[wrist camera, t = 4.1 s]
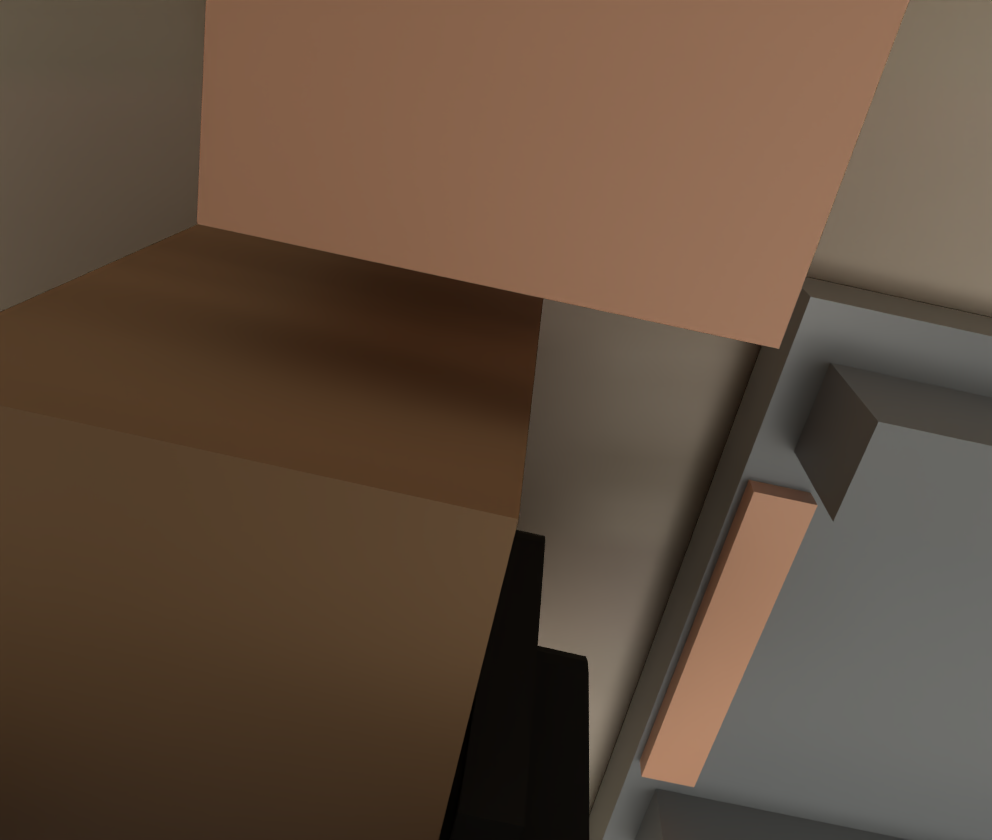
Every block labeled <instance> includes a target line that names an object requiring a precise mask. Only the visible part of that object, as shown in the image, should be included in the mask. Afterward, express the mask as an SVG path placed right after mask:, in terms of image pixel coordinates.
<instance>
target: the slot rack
mask: <svg viewBox="0 0 992 840" xmlns="http://www.w3.org/2000/svg"><path fill="white" fill-rule="evenodd" d="M589 840H992V318H991V317H986V316H982V315H977V314H973V313H968V312H963V311H959V310H954V309H950V308H945V307H941V306H936V305H931V304H927V303H922V302H918V301H913V300H909V299H904V298H900V297H895V296H890V295H886V294H881V293H877V292H872V291H868V290H863V289H859V288H854V287H849V286H845V285H840V284H836V283H831V282H827V281H822V280H818V279H813V278H808V277H806V278H805V281H804V283H803V286H802V289H801V291H800V294H799V297H798V299H797V302H796V305H795V307H794V310H793V313H792V315H791V318H790V321H789V323H788V326H787V329H786V331H785V334H784V337H783V339H782V342H781V345H780V347H779V349H777V348H772V347H768V346H763V345H762V347H761V349H760V352H759V355H758V358H757V360H756V363H755V366H754V368H753V371H752V374H751V377H750V379H749V382H748V385H747V388H746V390H745V393H744V396H743V398H742V401H741V404H740V407H739V409H738V412H737V415H736V418H735V420H734V423H733V426H732V428H731V431H730V434H729V437H728V439H727V442H726V445H725V448H724V450H723V453H722V456H721V458H720V461H719V464H718V467H717V469H716V472H715V475H714V478H713V480H712V483H711V486H710V488H709V491H708V494H707V497H706V499H705V502H704V505H703V508H702V510H701V513H700V516H699V518H698V521H697V524H696V527H695V529H694V532H693V535H692V538H691V540H690V543H689V546H688V548H687V551H686V554H685V557H684V559H683V562H682V565H681V567H680V570H679V573H678V576H677V578H676V581H675V584H674V587H673V589H672V592H671V595H670V597H669V600H668V603H667V606H666V608H665V611H664V614H663V617H662V619H661V622H660V625H659V627H658V630H657V633H656V636H655V638H654V641H653V644H652V647H651V649H650V652H649V655H648V657H647V660H646V663H645V666H644V668H643V671H642V674H641V677H640V679H639V682H638V685H637V687H636V690H635V693H634V696H633V698H632V701H631V704H630V707H629V709H628V712H627V715H626V717H625V720H624V723H623V726H622V728H621V731H620V734H619V737H618V739H617V742H616V745H615V747H614V750H613V753H612V756H611V758H610V761H609V764H608V767H607V769H606V772H605V775H604V777H603V780H602V783H601V786H600V788H599V791H598V794H597V796H596V799H595V802H594V805H593V807H592V810H591V813H590V816H589Z"/></svg>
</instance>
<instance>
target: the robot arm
mask: <svg viewBox="0 0 992 840" xmlns="http://www.w3.org/2000/svg"><path fill="white" fill-rule="evenodd" d="M544 550H545V536H541V535H537V534H532V533H528V532H523V531H519V530H516V531H515V535H514V539H513V543H512V547H511V551H510V555H509V559H508V563H507V567H506V571H505V575H504V579H503V583H502V587H501V591H500V595H499V599H498V603H497V607H496V611H495V615H494V619H493V623H492V627H491V631H490V635H489V639H488V643H487V647H486V651H485V655H484V659H483V663H482V667H481V671H480V675H479V679H478V683H477V687H476V691H475V695H474V699H473V703H472V708H471V712H470V716H469V720H468V724H467V728H466V732H465V736H464V740H463V744H462V748H461V752H460V756H459V760H458V764H457V768H456V772H455V776H454V780H453V784H452V788H451V792H450V796H449V800H448V804H447V808H446V812H445V816H444V820H443V824H442V828H441V832H440V836H439V840H589V672H588V661H587V658H586V656H581V655H577V654H572V653H568V652H563V651H559V650H554V649H550V648H545V647H541V646H537V645H538V632H539V618H540V605H541V591H542V577H543V564H544Z"/></svg>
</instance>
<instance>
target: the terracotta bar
mask: <svg viewBox="0 0 992 840" xmlns="http://www.w3.org/2000/svg"><path fill="white" fill-rule="evenodd" d="M909 1H910V0H206V12H205V36H204V60H203V85H202V109H201V134H200V158H199V182H198V207H197V224H200V225H205V226H209V227H214V228H219V229H223V230H228V231H233V232H237V233H242V234H247V235H251V236H256V237H261V238H265V239H270V240H275V241H279V242H284V243H288V244H293V245H298V246H302V247H307V248H312V249H316V250H321V251H326V252H330V253H335V254H340V255H344V256H349V257H354V258H358V259H363V260H368V261H372V262H377V263H382V264H386V265H391V266H396V267H400V268H405V269H409V270H414V271H419V272H423V273H428V274H433V275H437V276H442V277H447V278H451V279H456V280H461V281H465V282H470V283H475V284H479V285H484V286H489V287H493V288H498V289H503V290H507V291H512V292H517V293H521V294H526V295H530V296H535V297H540V298H544V299H549V300H554V301H558V302H563V303H568V304H572V305H577V306H582V307H586V308H591V309H596V310H600V311H605V312H610V313H614V314H619V315H624V316H628V317H633V318H638V319H642V320H647V321H651V322H656V323H661V324H665V325H670V326H675V327H679V328H684V329H689V330H693V331H698V332H703V333H707V334H712V335H717V336H721V337H726V338H731V339H735V340H740V341H745V342H749V343H754V344H759V345H763V346H768V347H772V348H777V349H779V347H780V345H781V342H782V339H783V337H784V334H785V331H786V329H787V326H788V323H789V321H790V318H791V315H792V313H793V310H794V307H795V305H796V302H797V299H798V297H799V294H800V291H801V289H802V286H803V283H804V281H805V278H806V275H807V273H808V270H809V267H810V265H811V262H812V259H813V257H814V254H815V251H816V249H817V246H818V243H819V241H820V238H821V235H822V233H823V230H824V227H825V225H826V222H827V219H828V217H829V214H830V211H831V209H832V206H833V203H834V201H835V198H836V195H837V193H838V190H839V187H840V185H841V182H842V179H843V177H844V174H845V171H846V169H847V166H848V163H849V161H850V158H851V155H852V153H853V150H854V147H855V145H856V142H857V139H858V137H859V134H860V131H861V129H862V126H863V123H864V121H865V118H866V115H867V113H868V110H869V107H870V105H871V102H872V99H873V97H874V94H875V91H876V89H877V86H878V83H879V81H880V78H881V75H882V73H883V70H884V67H885V65H886V62H887V59H888V57H889V54H890V51H891V49H892V46H893V43H894V41H895V38H896V35H897V33H898V30H899V27H900V25H901V22H902V19H903V17H904V14H905V11H906V9H907V6H908V3H909Z"/></svg>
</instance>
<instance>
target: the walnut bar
mask: <svg viewBox="0 0 992 840" xmlns="http://www.w3.org/2000/svg"><path fill="white" fill-rule="evenodd" d="M542 304H543V298H540V297H535V296H530V295H526V294H521V293H517V292H512V291H507V290H503V289H498V288H493V287H489V286H484V285H479V284H475V283H470V282H465V281H461V280H456V279H451V278H447V277H442V276H437V275H433V274H428V273H423V272H419V271H414V270H409V269H405V268H400V267H396V266H391V265H386V264H382V263H377V262H372V261H368V260H363V259H358V258H354V257H349V256H344V255H340V254H335V253H330V252H326V251H321V250H316V249H312V248H307V247H302V246H298V245H293V244H288V243H284V242H279V241H275V240H270V239H265V238H261V237H256V236H251V235H247V234H242V233H237V232H233V231H228V230H223V229H219V228H214V227H209V226H205V225H200V224H197V225H195V226H193V227H191V228H188V229H186V230H184V231H182V232H179V233H177V234H175V235H173V236H170V237H168V238H166V239H164V240H161V241H159V242H157V243H155V244H152V245H150V246H148V247H146V248H143V249H141V250H139V251H137V252H134V253H132V254H130V255H128V256H125V257H123V258H121V259H119V260H116V261H114V262H112V263H110V264H107V265H105V266H103V267H101V268H98V269H96V270H94V271H92V272H89V273H87V274H85V275H83V276H80V277H78V278H76V279H74V280H71V281H69V282H67V283H65V284H62V285H60V286H58V287H56V288H53V289H51V290H49V291H46V292H44V293H42V294H40V295H37V296H35V297H33V298H31V299H28V300H26V301H24V302H22V303H19V304H17V305H15V306H13V307H10V308H8V309H6V310H4V311H1V312H0V840H439V836H440V832H441V828H442V824H443V820H444V816H445V812H446V808H447V804H448V800H449V796H450V792H451V788H452V784H453V780H454V776H455V772H456V768H457V764H458V760H459V756H460V752H461V748H462V744H463V740H464V736H465V732H466V728H467V724H468V720H469V716H470V712H471V708H472V703H473V699H474V695H475V691H476V687H477V683H478V679H479V675H480V671H481V667H482V663H483V659H484V655H485V651H486V647H487V643H488V639H489V635H490V631H491V627H492V623H493V619H494V615H495V611H496V607H497V603H498V599H499V595H500V591H501V587H502V583H503V579H504V575H505V571H506V567H507V563H508V559H509V555H510V551H511V547H512V543H513V539H514V535H515V531H516V527H517V523H518V519H519V510H520V501H521V492H522V483H523V474H524V465H525V456H526V447H527V438H528V430H529V421H530V412H531V403H532V394H533V385H534V376H535V367H536V358H537V349H538V340H539V331H540V322H541V313H542Z"/></svg>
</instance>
